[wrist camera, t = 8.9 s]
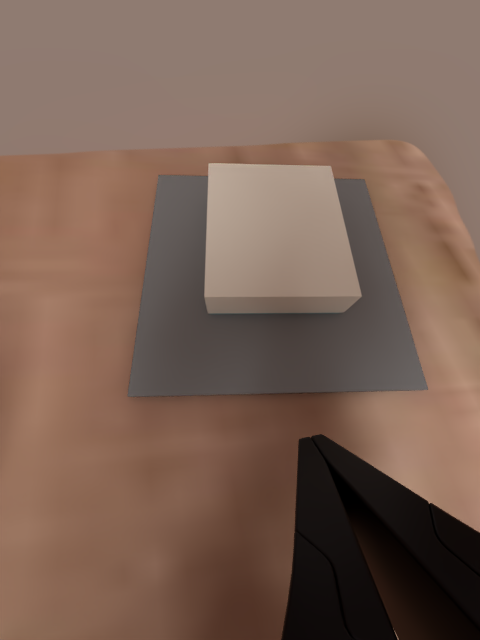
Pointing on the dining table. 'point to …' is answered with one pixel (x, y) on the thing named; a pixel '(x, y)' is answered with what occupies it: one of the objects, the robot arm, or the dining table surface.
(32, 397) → the dining table surface
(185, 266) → the mat
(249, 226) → the cream flat block
